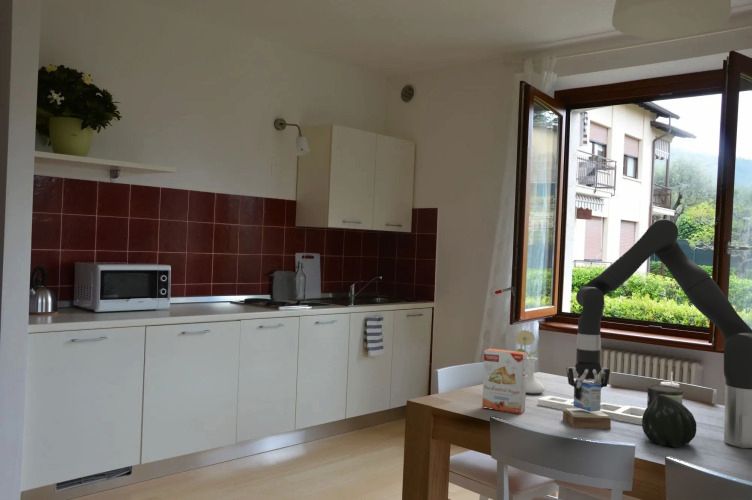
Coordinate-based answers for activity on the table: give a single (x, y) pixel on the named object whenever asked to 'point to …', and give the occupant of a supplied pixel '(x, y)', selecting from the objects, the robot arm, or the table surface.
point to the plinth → (586, 419)
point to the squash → (668, 422)
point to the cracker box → (504, 380)
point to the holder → (609, 409)
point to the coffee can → (664, 393)
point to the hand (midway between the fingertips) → (587, 399)
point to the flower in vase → (529, 361)
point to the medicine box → (589, 396)
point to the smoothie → (670, 382)
